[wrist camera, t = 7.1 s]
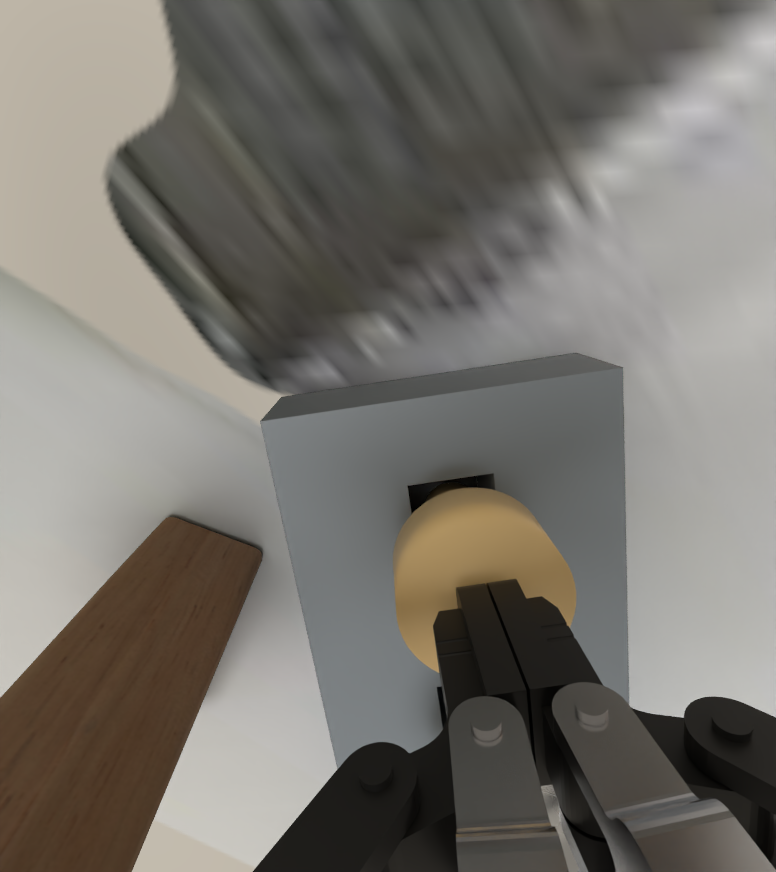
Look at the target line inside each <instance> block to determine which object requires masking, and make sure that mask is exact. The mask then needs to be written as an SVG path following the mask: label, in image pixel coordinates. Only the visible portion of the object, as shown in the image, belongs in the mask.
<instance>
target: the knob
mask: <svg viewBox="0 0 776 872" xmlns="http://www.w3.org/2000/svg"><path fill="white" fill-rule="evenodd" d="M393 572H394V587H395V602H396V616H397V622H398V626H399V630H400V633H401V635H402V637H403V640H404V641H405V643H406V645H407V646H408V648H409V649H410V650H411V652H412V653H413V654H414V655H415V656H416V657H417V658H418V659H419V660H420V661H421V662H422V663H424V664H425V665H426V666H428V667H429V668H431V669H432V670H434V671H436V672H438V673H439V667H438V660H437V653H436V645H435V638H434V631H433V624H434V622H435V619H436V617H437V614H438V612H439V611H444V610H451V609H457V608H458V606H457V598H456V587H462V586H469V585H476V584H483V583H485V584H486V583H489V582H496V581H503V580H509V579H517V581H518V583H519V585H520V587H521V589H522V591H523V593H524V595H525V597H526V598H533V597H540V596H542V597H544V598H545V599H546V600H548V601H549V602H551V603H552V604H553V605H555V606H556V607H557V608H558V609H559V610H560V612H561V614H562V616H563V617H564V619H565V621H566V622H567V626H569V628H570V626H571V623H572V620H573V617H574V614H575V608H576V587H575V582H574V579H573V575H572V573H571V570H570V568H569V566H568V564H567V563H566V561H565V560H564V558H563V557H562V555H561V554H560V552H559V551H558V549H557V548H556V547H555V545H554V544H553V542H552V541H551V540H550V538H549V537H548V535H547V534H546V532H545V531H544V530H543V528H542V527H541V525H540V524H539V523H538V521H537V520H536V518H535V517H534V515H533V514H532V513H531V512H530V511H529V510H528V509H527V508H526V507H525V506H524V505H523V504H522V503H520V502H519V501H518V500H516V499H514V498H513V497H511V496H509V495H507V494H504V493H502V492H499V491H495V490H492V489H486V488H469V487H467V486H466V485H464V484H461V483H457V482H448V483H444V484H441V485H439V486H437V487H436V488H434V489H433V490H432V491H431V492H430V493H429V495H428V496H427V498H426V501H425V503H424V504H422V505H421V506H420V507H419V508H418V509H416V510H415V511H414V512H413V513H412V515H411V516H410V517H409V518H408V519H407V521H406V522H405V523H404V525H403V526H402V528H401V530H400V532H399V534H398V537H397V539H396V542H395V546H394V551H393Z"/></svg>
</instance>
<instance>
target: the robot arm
mask: <svg viewBox="0 0 776 872" xmlns="http://www.w3.org/2000/svg"><path fill="white" fill-rule="evenodd" d="M456 598H457V606H458V608H457V609H451V610H444V611H439V612H438V614H437V617H436V619H435V622H434V624H433V631H434V638H435V645H436V653H437V660H438V667H439V674H440V680H441V686H442V692H443V697H444V703H445V709H446V714H447V721H446V724H445V726H444V728H443V730H442V731H441V733H440V734H439V735H438V736H437V737H436V738H435V739H434V740H433V741H432V742H430V743H429V744H427V745H426V746H424V747H422V748H420V749H418V750H416V751H413V752H411V753H408V752H407V751H406V750H405V749H404V748H402V747H400V746H399V745H396V744H393V743H389V742H375V743H371V744H367V745H365V746H362V747H361V748H359V749H357V750H356V751H354V752H353V753H352V754H351V755H350V756H349V757H348V758H347V759H346V760H345V761H344V762H343V764H342V765H341V766H340V767H339V768H338V770H337V771H336V772H335V773H334V774H333V776H332V777H331V778H330V779H329V780H328V782H327V783H326V784H325V785H324V786H323V788H322V789H321V790H320V791H319V792H318V794H317V795H316V796H315V797H314V798H313V800H312V801H311V802H310V803H309V805H308V806H307V807H306V808H305V809H304V811H303V812H302V813H301V814H300V815H299V817H298V818H297V819H296V820H295V821H294V823H293V824H292V825H291V826H290V827H289V829H288V830H287V831H286V832H285V833H284V835H283V836H282V837H281V838H280V839H279V841H278V842H277V843H276V844H275V846H274V847H273V848H272V849H271V850H270V852H269V853H268V854H267V855H266V856H265V858H264V859H263V860H262V861H261V862H260V864H259V865H258V866H257V867H256V868H255V870H254V871H253V872H569V871H568V867H567V863H566V859H565V856H564V852H563V848H562V845H561V841H560V838H559V835H558V832H557V830H556V828H555V827H552V826H551V823H550V820H549V816H548V813H547V809H546V805H545V801H544V797H543V793H542V789H541V786H545V785H553V788H554V791H555V793H556V796H557V799H558V805H559V819H560V824H561V827H562V830H563V833H564V835H565V837H566V840H567V842H568V844H569V847H570V849H571V851H572V854H573V856H574V858H575V860H576V863H577V865H578V867H579V870H580V872H776V718H775V717H773V716H771V715H769V714H766V713H764V712H762V711H760V710H758V709H755V708H753V707H751V706H749V705H746V704H744V703H741V702H739V701H736V700H732V699H728V698H723V697H704V698H700V699H697V700H695V701H693V702H692V703H690V704H689V705H688V707H687V708H686V710H685V714H684V718H680V717H672V716H664V715H656V714H650V713H645V712H641V711H638V710H635V709H633V708H631V707H630V706H629V704H628V703H627V702H626V701H625V699H624V698H623V697H621V696H620V695H619V694H618V693H616V692H615V691H613V690H612V689H610V688H608V687H605V686H603V684H602V682H601V681H600V679H599V677H598V676H597V674H596V672H595V670H594V669H593V667H592V665H591V664H590V662H589V660H588V658H587V657H586V655H585V653H584V652H583V650H582V648H581V646H580V645H579V643H578V641H577V640H576V638H574V634H573V633H572V631H571V629H570V628H569V626H567V622H566V621H565V619H564V617H563V616H562V614H561V612H560V610H559V609H558V608H557V607H556V606H555V605H553V604H552V603H551V602H549V601H548V600H546V599H545V598H544V597H542V596H540V597H533V598H526V597H525V595H524V593H523V591H522V589H521V587H520V585H519V583H518V581H517V579H509V580H503V581H496V582H489V583H486V584H485V583H483V584H476V585H469V586H462V587H456Z"/></svg>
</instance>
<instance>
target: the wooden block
mask: <svg viewBox="0 0 776 872" xmlns="http://www.w3.org/2000/svg"><path fill="white" fill-rule="evenodd" d="M261 561H262V554H261V551H259V550H258V549H257V548H255V547H252V546H249V545H247V544H244V543H241V542H239V541H236V540H233V539H231V538H228V537H226V536H223V535H220V534H218V533H215V532H212V531H210V530H207V529H204V528H202V527H199V526H197V525H194V524H191V523H189V522H186V521H183V520H181V519H178V518H176V517H167V518H166V519H165V520H164V521H162V522H161V524H160V525H159V526H158V527H157V528H156V529H155V530H154V531H153V532H152V533H151V534H150V535H149V536H148V537H147V539H146V540H145V541H144V542H143V543H142V544H141V545H140V546H139V547H138V548H137V549H136V550H135V551H134V553H133V554H132V555H131V556H130V557H129V558H128V559H127V560H126V561H125V562H124V563H123V564H122V565H121V566H120V568H119V569H118V570H117V571H116V572H115V573H114V574H113V575H112V576H111V577H110V578H109V579H108V580H107V582H106V583H105V584H104V585H103V586H102V587H101V588H100V589H99V590H98V591H97V593H96V594H95V595H94V596H93V597H92V598H91V599H90V600H89V601H88V602H87V604H86V605H85V606H84V607H83V608H82V609H81V610H80V611H79V612H78V613H77V615H76V616H75V617H74V618H73V619H72V620H71V621H70V622H69V623H68V624H67V626H66V627H65V628H64V629H63V630H62V631H61V632H60V633H59V634H58V635H57V637H56V638H55V639H54V640H53V641H52V642H51V643H50V644H49V645H48V646H47V647H46V649H45V650H44V651H43V652H42V653H41V654H40V655H39V656H38V657H37V658H36V660H35V661H34V662H33V663H32V664H31V665H30V666H29V667H28V668H27V669H26V671H25V672H24V673H23V674H22V675H21V676H20V677H19V678H18V679H17V680H16V681H15V682H14V684H13V685H12V686H11V687H10V688H9V689H8V690H7V691H6V692H5V693H4V694H3V696H2V697H1V698H0V872H132V870H133V867H134V865H135V862H136V860H137V858H138V855H139V853H140V850H141V848H142V846H143V843H144V841H145V838H146V836H147V834H148V831H149V829H150V826H151V824H152V822H153V819H154V817H155V815H156V812H157V810H158V807H159V805H160V803H161V800H162V798H163V795H164V793H165V791H166V788H167V786H168V783H169V781H170V779H171V776H172V774H173V771H174V769H175V767H176V764H177V762H178V760H179V757H180V755H181V752H182V750H183V748H184V745H185V743H186V740H187V738H188V736H189V733H190V731H191V728H192V726H193V724H194V721H195V719H196V716H197V714H198V712H199V709H200V707H201V705H202V702H203V700H204V697H205V695H206V693H207V690H208V688H209V685H210V683H211V681H212V678H213V676H214V673H215V671H216V669H217V666H218V664H219V661H220V659H221V657H222V654H223V652H224V650H225V647H226V645H227V642H228V640H229V638H230V635H231V633H232V630H233V628H234V626H235V623H236V621H237V618H238V616H239V614H240V611H241V609H242V606H243V604H244V602H245V599H246V597H247V595H248V592H249V590H250V587H251V585H252V583H253V580H254V578H255V575H256V573H257V571H258V568H259V566H260V563H261Z"/></svg>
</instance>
